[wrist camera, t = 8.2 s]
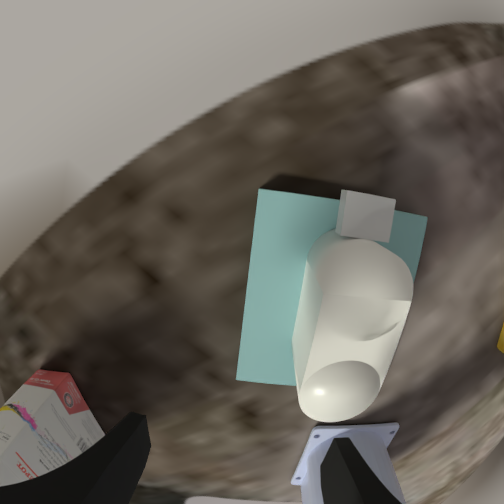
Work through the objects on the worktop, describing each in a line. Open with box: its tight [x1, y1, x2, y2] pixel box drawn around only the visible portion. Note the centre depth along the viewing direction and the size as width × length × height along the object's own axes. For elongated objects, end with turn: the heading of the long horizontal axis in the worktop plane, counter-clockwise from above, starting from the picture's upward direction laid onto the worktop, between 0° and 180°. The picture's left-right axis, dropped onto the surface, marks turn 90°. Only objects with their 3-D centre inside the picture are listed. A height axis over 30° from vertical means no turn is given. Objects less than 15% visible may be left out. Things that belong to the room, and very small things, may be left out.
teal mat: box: [236, 188, 428, 386], centre depth 17 cm, size 12×10×1 cm
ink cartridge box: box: [0, 369, 105, 486], centre depth 15 cm, size 9×5×15 cm, turn 9°
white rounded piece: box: [291, 190, 413, 422], centre depth 14 cm, size 11×4×5 cm, turn 174°
